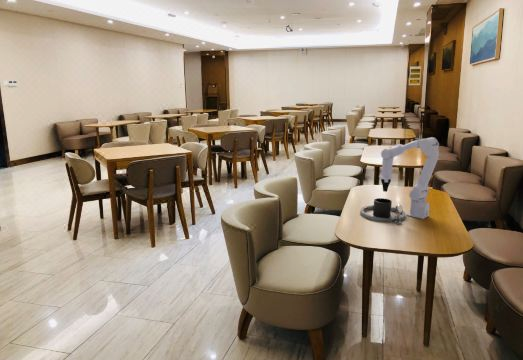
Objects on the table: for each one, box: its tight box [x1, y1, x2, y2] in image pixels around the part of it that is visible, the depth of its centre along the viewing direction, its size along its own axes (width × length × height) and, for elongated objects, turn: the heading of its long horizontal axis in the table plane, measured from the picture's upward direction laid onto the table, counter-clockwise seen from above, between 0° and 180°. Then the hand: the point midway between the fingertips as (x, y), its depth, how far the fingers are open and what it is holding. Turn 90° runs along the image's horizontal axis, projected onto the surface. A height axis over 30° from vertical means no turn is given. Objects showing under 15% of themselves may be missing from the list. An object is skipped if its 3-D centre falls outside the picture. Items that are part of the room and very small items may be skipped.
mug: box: [372, 197, 393, 218], centre depth 228 cm, size 9×12×9 cm
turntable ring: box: [359, 204, 406, 223], centre depth 230 cm, size 24×24×2 cm
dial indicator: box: [393, 204, 404, 226], centre depth 216 cm, size 5×3×10 cm, turn 16°
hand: (385, 191), depth 244 cm, fingers closed
